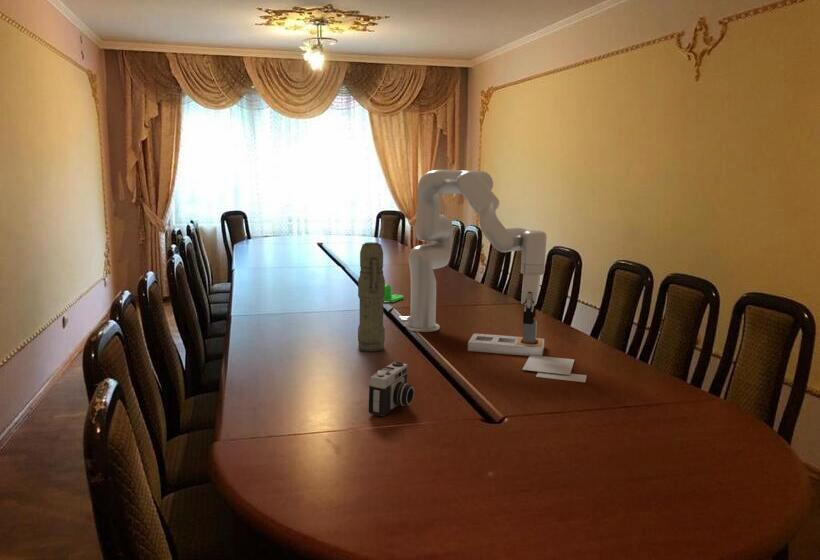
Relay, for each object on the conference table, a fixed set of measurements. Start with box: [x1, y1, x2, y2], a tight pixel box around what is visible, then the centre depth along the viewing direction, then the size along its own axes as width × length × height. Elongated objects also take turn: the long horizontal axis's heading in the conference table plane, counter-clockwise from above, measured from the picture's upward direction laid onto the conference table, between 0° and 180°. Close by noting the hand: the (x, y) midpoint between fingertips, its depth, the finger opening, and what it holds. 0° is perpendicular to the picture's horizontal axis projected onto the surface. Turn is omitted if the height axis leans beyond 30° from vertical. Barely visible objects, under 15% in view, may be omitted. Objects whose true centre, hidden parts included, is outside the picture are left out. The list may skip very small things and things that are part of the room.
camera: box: [368, 361, 415, 417], centre depth 159 cm, size 14×9×10 cm, turn 148°
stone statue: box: [357, 242, 386, 352], centre depth 211 cm, size 9×12×35 cm
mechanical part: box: [383, 283, 404, 302], centre depth 291 cm, size 12×6×8 cm, turn 150°
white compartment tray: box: [467, 333, 545, 357], centre depth 214 cm, size 24×12×3 cm, turn 75°
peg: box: [522, 319, 538, 344], centre depth 212 cm, size 4×4×10 cm
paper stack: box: [522, 355, 587, 383], centre depth 191 cm, size 23×25×1 cm
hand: (529, 320), depth 211 cm, fingers open, 9 cm apart
